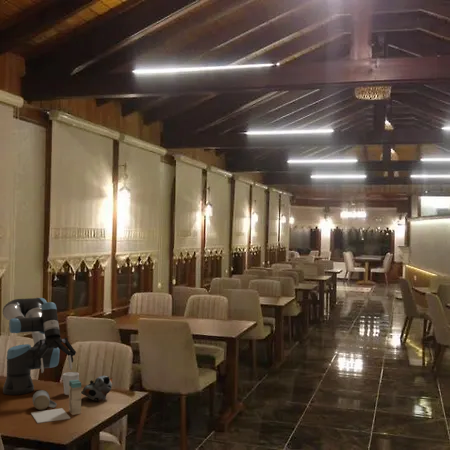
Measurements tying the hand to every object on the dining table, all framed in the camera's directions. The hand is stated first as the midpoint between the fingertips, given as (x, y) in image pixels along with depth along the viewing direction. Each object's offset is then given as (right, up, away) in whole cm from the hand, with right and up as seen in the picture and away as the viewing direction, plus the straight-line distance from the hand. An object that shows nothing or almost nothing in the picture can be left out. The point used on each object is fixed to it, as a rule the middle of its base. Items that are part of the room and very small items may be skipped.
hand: (57, 370), depth 278 cm
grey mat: (+4, -15, -22) cm, 27 cm away
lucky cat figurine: (+18, -16, +5) cm, 25 cm away
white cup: (+3, -16, +15) cm, 22 cm away
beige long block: (+13, -15, -17) cm, 26 cm away
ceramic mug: (-3, -15, -10) cm, 19 cm away
